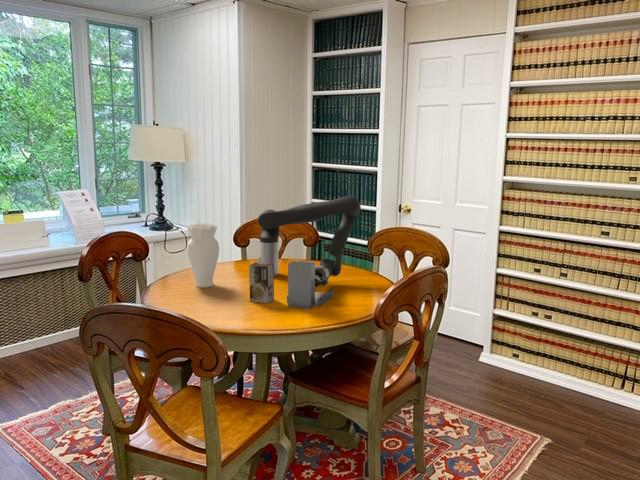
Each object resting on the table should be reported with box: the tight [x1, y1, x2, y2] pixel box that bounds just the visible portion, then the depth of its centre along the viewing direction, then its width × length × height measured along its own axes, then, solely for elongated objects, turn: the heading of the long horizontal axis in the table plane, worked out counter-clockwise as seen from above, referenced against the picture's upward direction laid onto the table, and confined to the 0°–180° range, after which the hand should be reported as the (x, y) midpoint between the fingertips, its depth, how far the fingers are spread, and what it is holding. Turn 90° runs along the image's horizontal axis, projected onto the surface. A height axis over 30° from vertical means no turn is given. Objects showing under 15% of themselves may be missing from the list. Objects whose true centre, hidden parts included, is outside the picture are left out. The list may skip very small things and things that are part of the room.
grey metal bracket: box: [286, 260, 335, 310], centre depth 231 cm, size 15×23×18 cm
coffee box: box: [248, 261, 275, 304], centre depth 231 cm, size 9×6×16 cm
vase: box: [186, 222, 220, 288], centre depth 253 cm, size 15×15×29 cm
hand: (305, 284), depth 227 cm, fingers open, 8 cm apart
